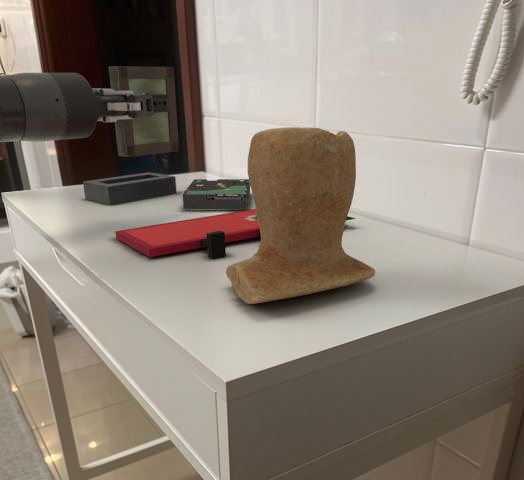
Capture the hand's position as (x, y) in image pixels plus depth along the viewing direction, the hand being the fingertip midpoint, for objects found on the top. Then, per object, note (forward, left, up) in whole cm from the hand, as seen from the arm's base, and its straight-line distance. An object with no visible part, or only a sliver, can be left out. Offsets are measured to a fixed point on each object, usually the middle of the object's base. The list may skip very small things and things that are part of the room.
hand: (162, 102), depth 79 cm
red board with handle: (+14, -9, -16) cm, 23 cm away
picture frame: (-1, -3, -6) cm, 7 cm away
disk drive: (+4, +12, -16) cm, 20 cm away
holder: (-13, +14, -16) cm, 25 cm away
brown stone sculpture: (+24, -28, -16) cm, 40 cm away
